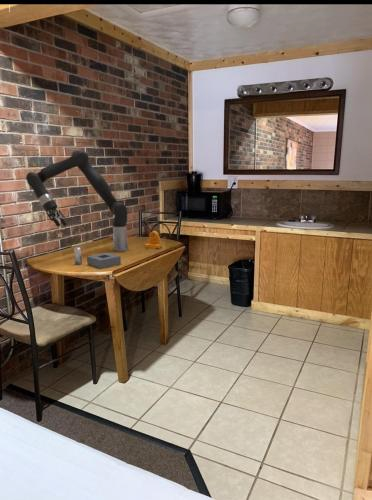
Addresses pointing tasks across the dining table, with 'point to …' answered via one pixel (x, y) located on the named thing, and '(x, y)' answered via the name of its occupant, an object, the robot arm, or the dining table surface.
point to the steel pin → (78, 256)
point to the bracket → (154, 241)
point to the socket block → (103, 260)
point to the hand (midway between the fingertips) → (62, 225)
